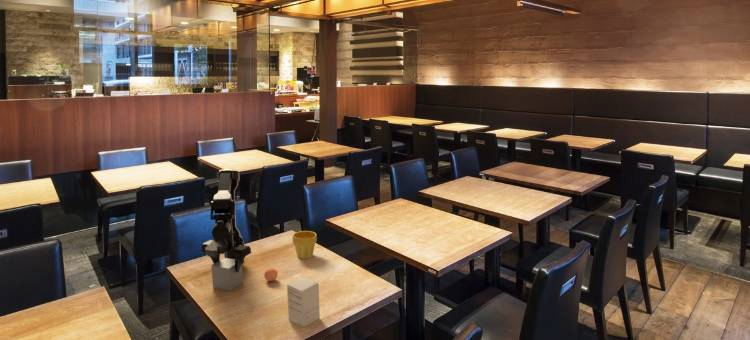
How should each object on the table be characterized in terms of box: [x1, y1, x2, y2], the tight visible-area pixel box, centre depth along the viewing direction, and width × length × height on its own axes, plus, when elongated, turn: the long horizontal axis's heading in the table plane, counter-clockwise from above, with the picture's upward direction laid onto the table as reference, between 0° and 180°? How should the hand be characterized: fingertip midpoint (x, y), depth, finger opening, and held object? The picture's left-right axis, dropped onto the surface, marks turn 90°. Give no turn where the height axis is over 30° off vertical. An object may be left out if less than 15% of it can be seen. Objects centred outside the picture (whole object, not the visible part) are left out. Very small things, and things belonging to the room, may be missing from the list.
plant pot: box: [292, 230, 318, 260], centre depth 200 cm, size 10×10×10 cm
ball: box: [263, 267, 279, 282], centre depth 177 cm, size 5×5×5 cm
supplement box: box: [286, 276, 321, 328], centre depth 148 cm, size 7×7×13 cm
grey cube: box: [211, 257, 244, 292], centre depth 173 cm, size 8×8×9 cm
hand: (227, 270), depth 172 cm, fingers open, 9 cm apart
